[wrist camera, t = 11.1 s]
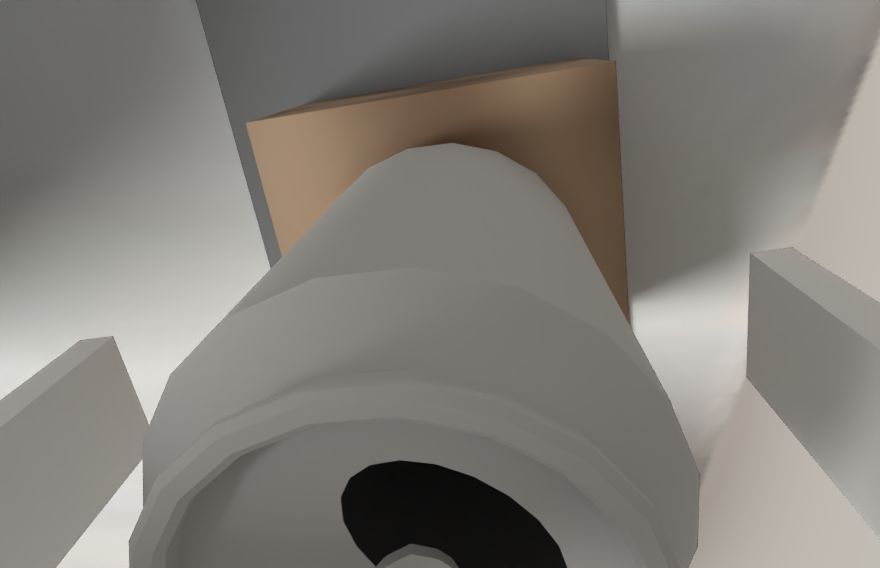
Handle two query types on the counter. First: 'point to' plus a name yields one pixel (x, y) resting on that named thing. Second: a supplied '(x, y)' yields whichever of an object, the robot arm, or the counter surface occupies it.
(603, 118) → the base block
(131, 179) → the counter surface
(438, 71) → the mat
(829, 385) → the robot arm
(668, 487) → the can
